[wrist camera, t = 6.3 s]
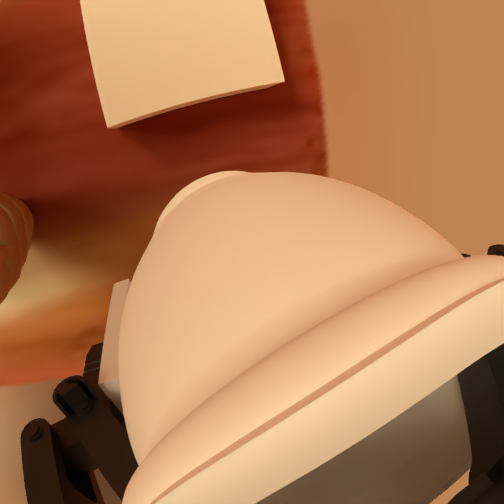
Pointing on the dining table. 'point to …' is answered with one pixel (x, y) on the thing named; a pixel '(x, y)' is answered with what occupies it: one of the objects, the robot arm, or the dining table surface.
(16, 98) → the dining table surface
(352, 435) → the jar
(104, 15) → the cream block
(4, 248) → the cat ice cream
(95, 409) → the robot arm
